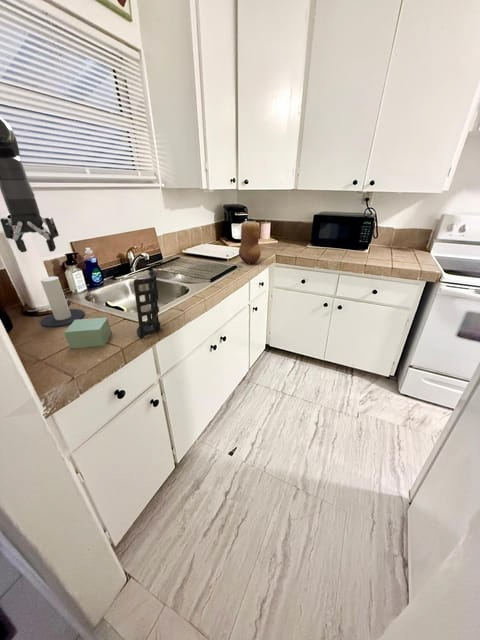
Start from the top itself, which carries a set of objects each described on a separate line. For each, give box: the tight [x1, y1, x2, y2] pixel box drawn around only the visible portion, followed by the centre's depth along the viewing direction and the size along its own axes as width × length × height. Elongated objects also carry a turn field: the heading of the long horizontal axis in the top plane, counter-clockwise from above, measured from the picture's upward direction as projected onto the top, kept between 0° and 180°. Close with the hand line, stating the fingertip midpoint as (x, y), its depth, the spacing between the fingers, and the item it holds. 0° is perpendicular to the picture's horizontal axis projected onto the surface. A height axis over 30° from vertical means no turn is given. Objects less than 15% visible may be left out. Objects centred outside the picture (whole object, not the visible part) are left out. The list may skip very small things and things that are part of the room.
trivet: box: [40, 308, 85, 329], centre depth 97 cm, size 14×14×1 cm
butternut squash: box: [238, 220, 262, 265], centre depth 158 cm, size 14×13×25 cm
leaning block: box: [63, 317, 113, 350], centre depth 82 cm, size 10×8×6 cm
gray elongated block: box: [40, 275, 71, 320], centre depth 94 cm, size 5×14×14 cm
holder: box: [133, 270, 161, 339], centre depth 85 cm, size 11×8×20 cm
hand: (38, 251), depth 86 cm, fingers open, 8 cm apart
